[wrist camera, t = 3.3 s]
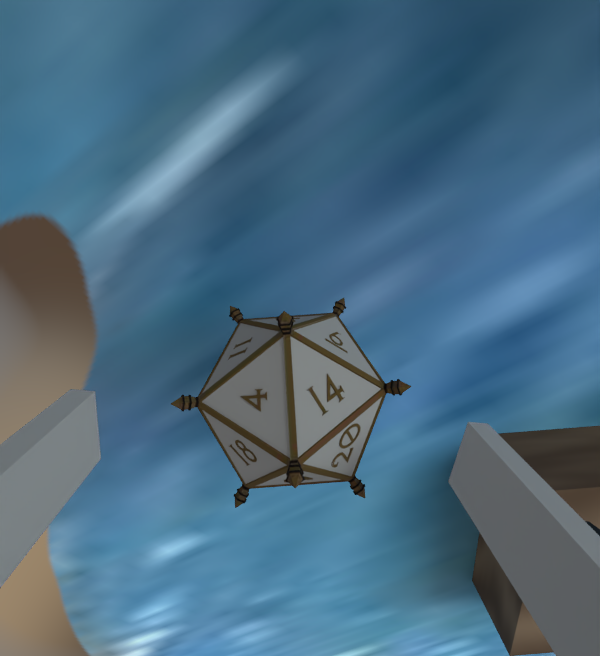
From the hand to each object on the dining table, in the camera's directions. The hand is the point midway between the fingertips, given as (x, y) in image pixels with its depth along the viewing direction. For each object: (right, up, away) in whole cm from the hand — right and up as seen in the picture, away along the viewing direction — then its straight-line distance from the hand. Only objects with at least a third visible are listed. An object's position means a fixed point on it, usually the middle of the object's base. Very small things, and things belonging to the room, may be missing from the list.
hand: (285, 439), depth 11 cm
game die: (0, +3, +7) cm, 8 cm away
